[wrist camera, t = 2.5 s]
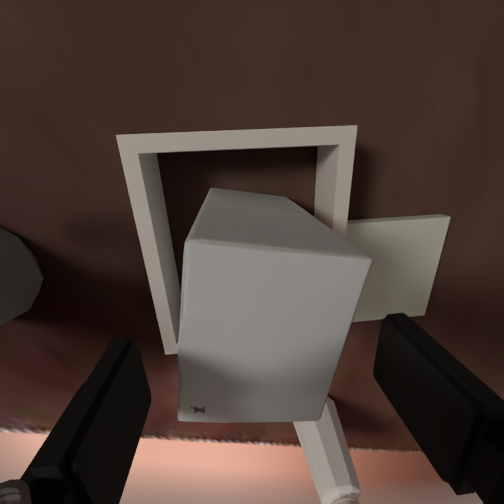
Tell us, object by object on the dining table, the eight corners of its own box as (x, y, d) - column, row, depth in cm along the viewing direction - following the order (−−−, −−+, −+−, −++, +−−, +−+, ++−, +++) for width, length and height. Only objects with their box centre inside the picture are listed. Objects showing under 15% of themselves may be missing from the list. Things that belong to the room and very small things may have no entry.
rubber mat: (342, 220, 21) (347, 223, 20) (441, 214, 22) (450, 216, 21) (332, 317, 25) (336, 323, 24) (417, 309, 26) (424, 315, 25)
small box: (272, 282, 23) (321, 426, 11) (203, 277, 22) (172, 427, 10) (288, 194, 20) (379, 257, 8) (209, 184, 19) (177, 238, 7)
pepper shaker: (283, 400, 29) (313, 535, 19) (327, 385, 29) (382, 513, 18) (297, 427, 31) (330, 562, 21) (338, 413, 31) (393, 543, 20)
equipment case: (139, 138, 18) (115, 134, 14) (331, 130, 18) (357, 125, 15) (189, 397, 27) (183, 435, 24) (313, 383, 28) (326, 418, 25)
